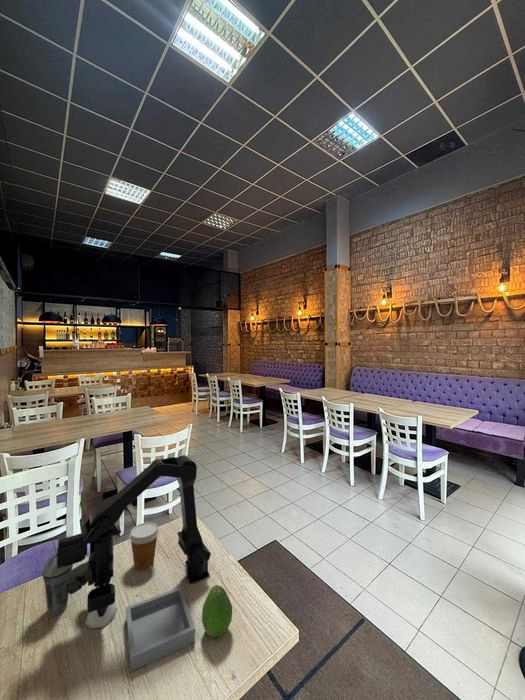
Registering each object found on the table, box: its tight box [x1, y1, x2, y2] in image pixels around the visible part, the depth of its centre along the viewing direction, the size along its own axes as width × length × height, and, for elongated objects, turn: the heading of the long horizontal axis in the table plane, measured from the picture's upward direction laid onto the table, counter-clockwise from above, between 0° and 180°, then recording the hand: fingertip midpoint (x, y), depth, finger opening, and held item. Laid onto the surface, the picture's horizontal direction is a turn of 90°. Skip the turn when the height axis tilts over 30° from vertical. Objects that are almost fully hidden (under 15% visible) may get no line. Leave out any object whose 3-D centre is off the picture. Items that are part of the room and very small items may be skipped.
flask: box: [85, 581, 117, 629], centre depth 82 cm, size 7×7×10 cm
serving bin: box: [125, 586, 196, 673], centre depth 79 cm, size 15×15×4 cm
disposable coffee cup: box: [129, 521, 160, 572], centre depth 102 cm, size 10×10×12 cm
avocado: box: [201, 585, 233, 638], centre depth 78 cm, size 8×8×12 cm
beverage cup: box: [41, 540, 74, 616], centre depth 85 cm, size 7×7×20 cm
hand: (101, 608), depth 82 cm, fingers closed on flask, 5 cm apart
